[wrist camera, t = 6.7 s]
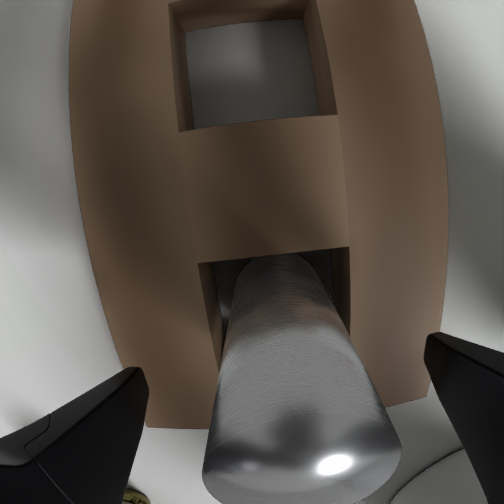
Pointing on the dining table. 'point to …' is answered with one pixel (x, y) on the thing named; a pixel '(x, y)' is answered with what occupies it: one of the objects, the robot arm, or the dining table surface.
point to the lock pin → (294, 398)
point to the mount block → (258, 187)
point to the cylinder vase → (444, 484)
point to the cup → (134, 498)
